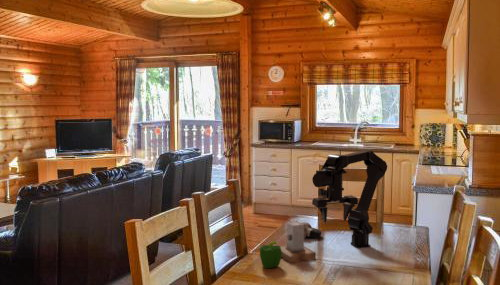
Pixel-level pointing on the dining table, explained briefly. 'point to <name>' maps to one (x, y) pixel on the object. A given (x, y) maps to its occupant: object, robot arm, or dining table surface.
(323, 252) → the dining table surface
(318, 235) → the grey brown rock
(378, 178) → the robot arm
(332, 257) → the dining table surface
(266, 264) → the bell pepper
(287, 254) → the stand
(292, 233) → the plate
